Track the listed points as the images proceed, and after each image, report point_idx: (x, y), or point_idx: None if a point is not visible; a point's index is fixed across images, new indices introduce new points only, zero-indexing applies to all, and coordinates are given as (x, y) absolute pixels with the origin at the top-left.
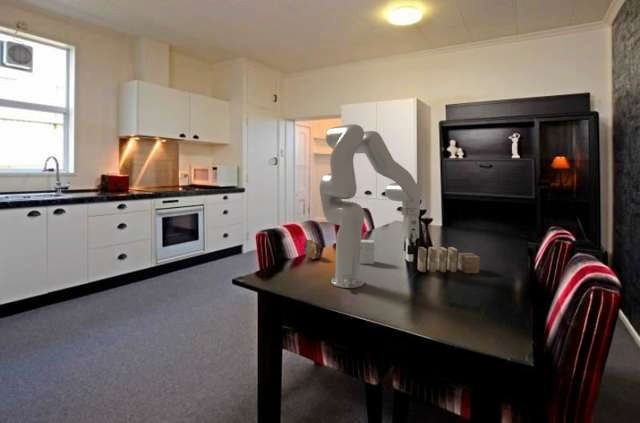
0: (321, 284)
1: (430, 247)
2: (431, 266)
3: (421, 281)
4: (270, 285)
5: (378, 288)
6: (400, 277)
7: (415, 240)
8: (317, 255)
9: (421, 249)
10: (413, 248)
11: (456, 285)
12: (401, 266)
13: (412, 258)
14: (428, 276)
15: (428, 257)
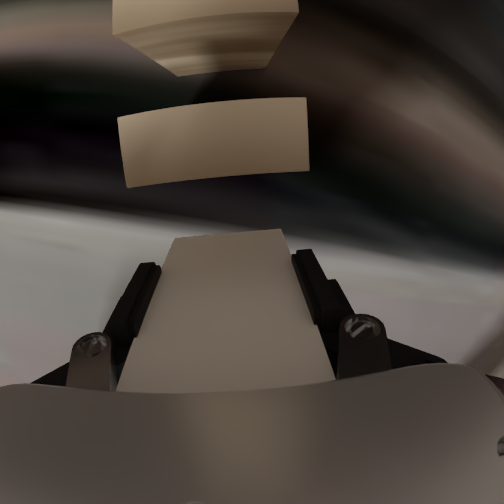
0: None
1: (147, 8)
2: (269, 59)
3: (454, 201)
4: None
5: (468, 363)
6: (385, 293)
7: (495, 381)
8: None
9: (281, 170)
10: (348, 307)
11: (495, 57)
12: (143, 253)
13: (284, 244)
14: (378, 125)
15: (171, 57)
